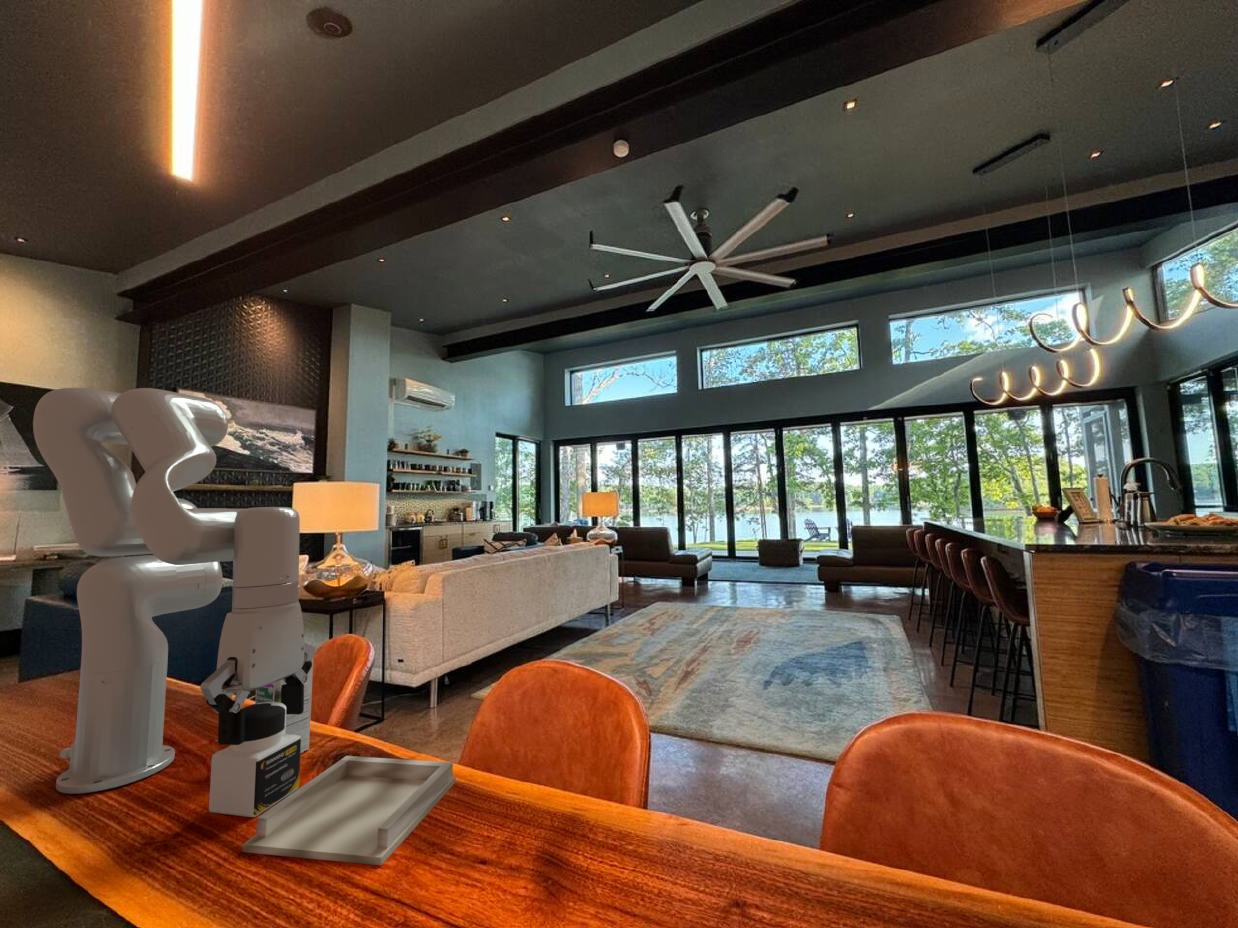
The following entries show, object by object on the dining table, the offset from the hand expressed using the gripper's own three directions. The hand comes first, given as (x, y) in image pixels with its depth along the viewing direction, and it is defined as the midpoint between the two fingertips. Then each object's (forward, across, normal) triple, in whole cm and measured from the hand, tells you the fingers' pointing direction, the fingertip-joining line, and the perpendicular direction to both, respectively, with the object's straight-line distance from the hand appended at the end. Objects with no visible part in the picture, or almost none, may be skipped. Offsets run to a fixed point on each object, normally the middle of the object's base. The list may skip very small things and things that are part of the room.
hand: (263, 727), depth 69 cm
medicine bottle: (+10, 0, -1) cm, 10 cm away
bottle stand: (+10, +1, +15) cm, 18 cm away
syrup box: (+9, -12, -8) cm, 17 cm away
